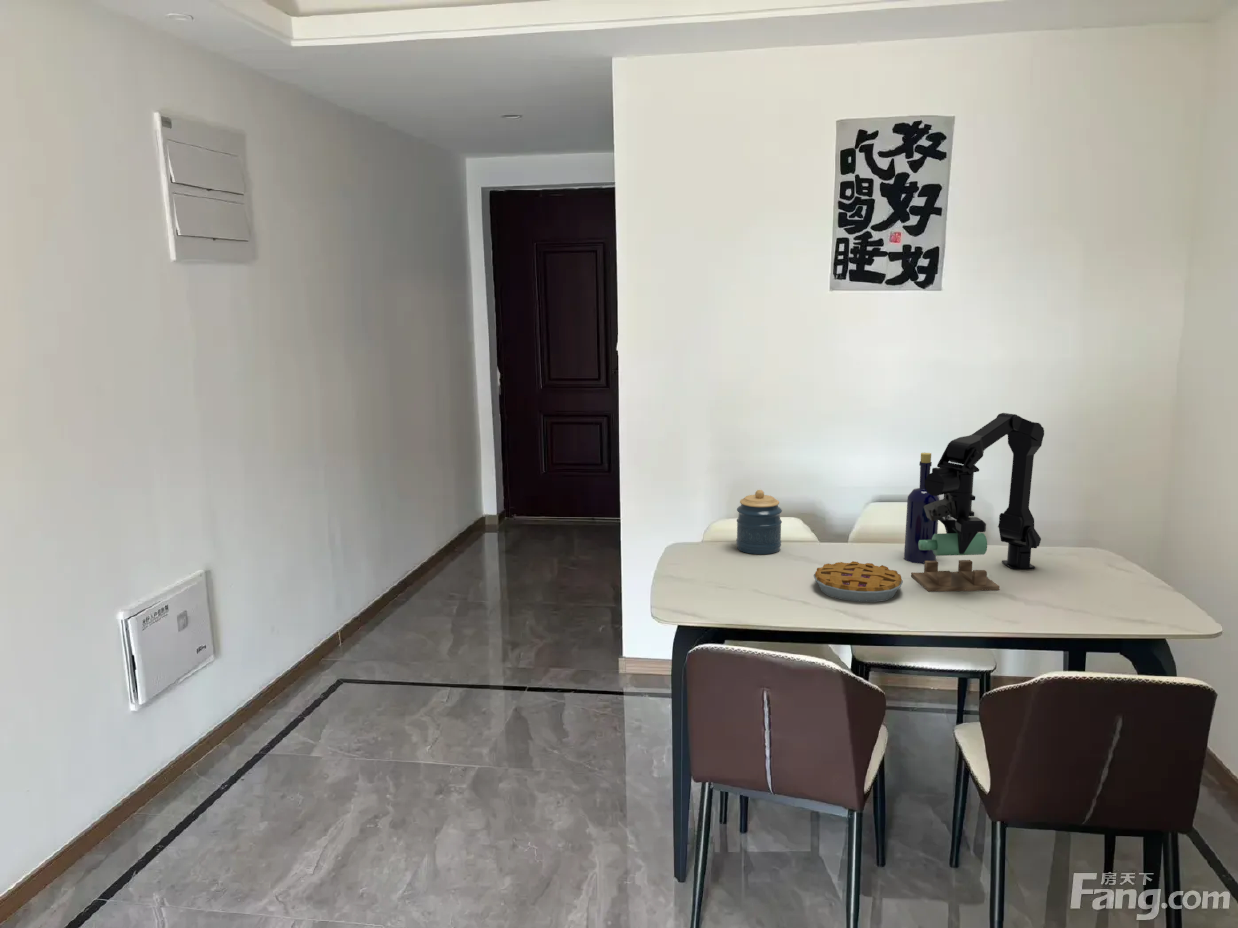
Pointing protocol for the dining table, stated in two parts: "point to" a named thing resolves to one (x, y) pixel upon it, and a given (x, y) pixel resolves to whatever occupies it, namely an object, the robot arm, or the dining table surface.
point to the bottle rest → (954, 578)
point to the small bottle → (953, 545)
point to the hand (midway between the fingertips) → (956, 550)
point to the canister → (759, 524)
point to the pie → (858, 581)
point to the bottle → (920, 518)
